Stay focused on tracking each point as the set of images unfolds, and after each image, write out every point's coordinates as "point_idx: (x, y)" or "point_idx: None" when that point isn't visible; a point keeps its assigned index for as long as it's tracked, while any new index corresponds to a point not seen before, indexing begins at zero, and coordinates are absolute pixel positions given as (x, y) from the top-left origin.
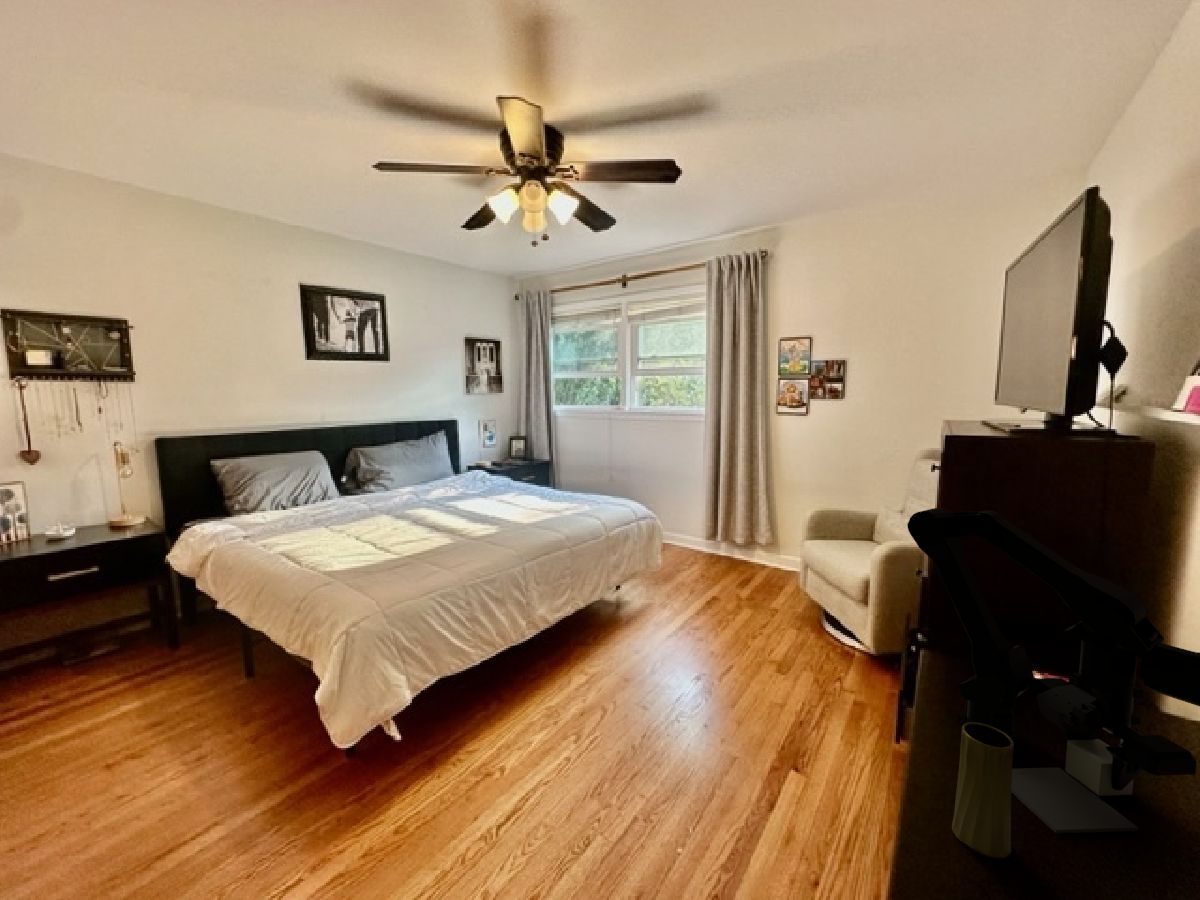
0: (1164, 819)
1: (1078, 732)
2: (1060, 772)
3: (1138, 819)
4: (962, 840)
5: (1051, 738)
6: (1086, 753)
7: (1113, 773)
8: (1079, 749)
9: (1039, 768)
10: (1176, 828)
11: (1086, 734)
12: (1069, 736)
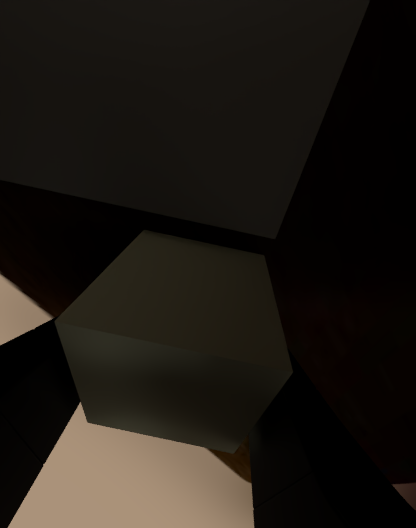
0: (62, 293)
1: (285, 464)
2: (252, 211)
3: (49, 234)
4: None
5: (367, 360)
6: (153, 340)
7: None
8: (205, 346)
9: (311, 137)
10: (35, 286)
11: (263, 462)
12: (309, 404)
